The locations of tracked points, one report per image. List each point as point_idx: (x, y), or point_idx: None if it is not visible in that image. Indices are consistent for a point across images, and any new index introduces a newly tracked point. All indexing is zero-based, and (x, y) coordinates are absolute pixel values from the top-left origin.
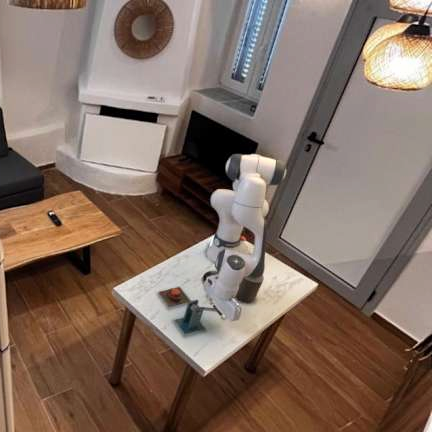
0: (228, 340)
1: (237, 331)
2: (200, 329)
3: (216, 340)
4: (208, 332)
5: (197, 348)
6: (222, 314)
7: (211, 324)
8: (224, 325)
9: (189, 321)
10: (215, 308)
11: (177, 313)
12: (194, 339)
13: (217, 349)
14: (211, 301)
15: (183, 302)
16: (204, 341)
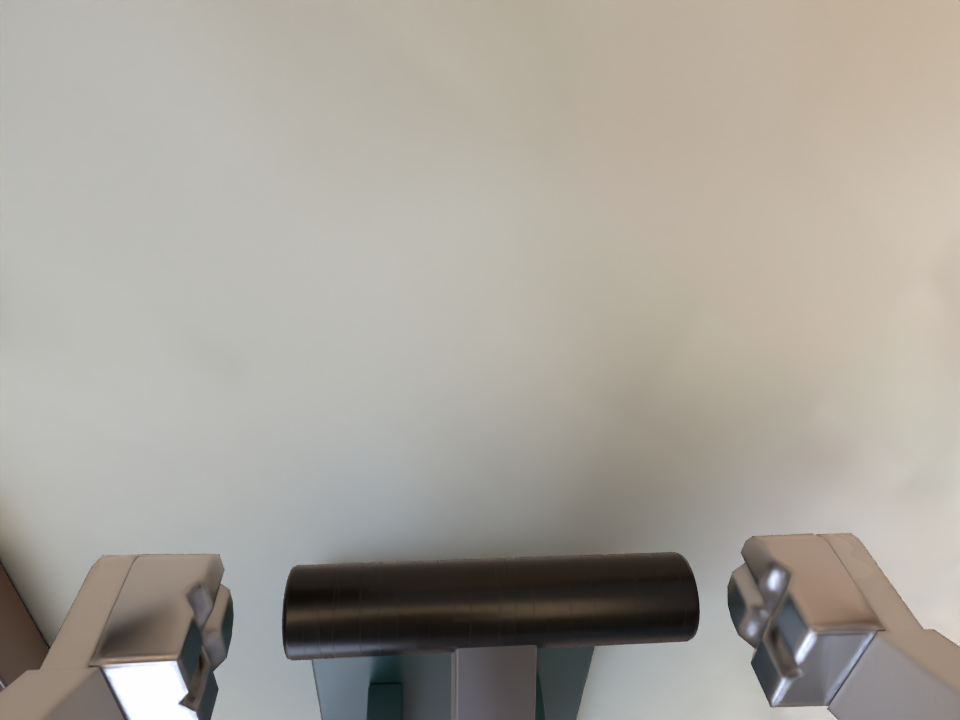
0: (933, 385)
1: (954, 85)
2: (583, 658)
3: (808, 525)
4: (646, 549)
5: (745, 709)
6: (695, 585)
7: (546, 449)
8: (677, 256)
9: (408, 707)
10: (462, 716)
11: (213, 709)
12: (641, 696)
13: (903, 574)
14: (146, 711)
15: (7, 672)
16: (724, 635)
